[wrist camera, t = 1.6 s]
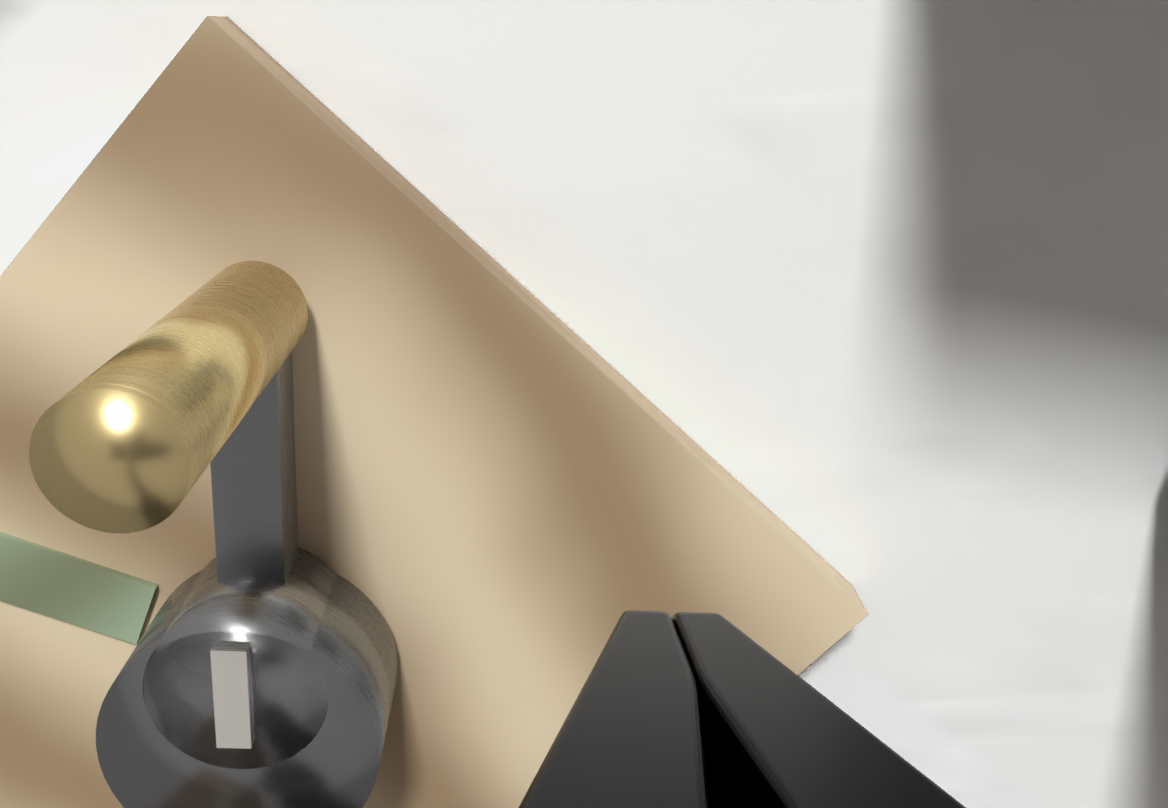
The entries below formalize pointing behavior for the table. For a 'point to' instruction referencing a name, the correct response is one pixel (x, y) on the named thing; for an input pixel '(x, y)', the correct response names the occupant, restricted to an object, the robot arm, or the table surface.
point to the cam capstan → (223, 566)
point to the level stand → (362, 449)
